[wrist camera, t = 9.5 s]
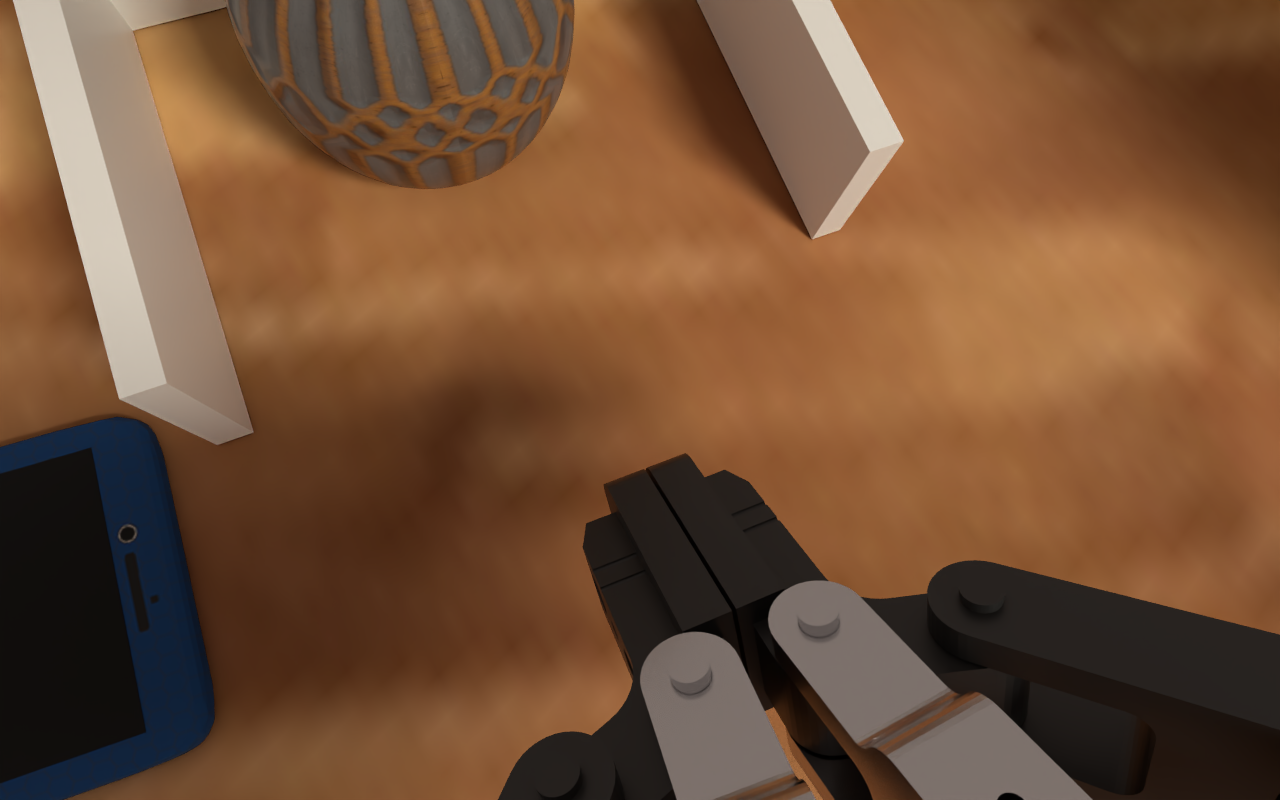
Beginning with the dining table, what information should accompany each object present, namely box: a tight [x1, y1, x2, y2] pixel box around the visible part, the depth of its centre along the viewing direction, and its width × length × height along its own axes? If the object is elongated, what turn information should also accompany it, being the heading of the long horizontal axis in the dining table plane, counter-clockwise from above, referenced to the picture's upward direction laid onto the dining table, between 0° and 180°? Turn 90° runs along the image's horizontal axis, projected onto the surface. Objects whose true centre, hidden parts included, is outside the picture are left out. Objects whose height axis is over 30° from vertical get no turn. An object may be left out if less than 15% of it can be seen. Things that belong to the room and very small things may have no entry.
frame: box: [13, 0, 904, 445], centre depth 18 cm, size 16×12×4 cm
